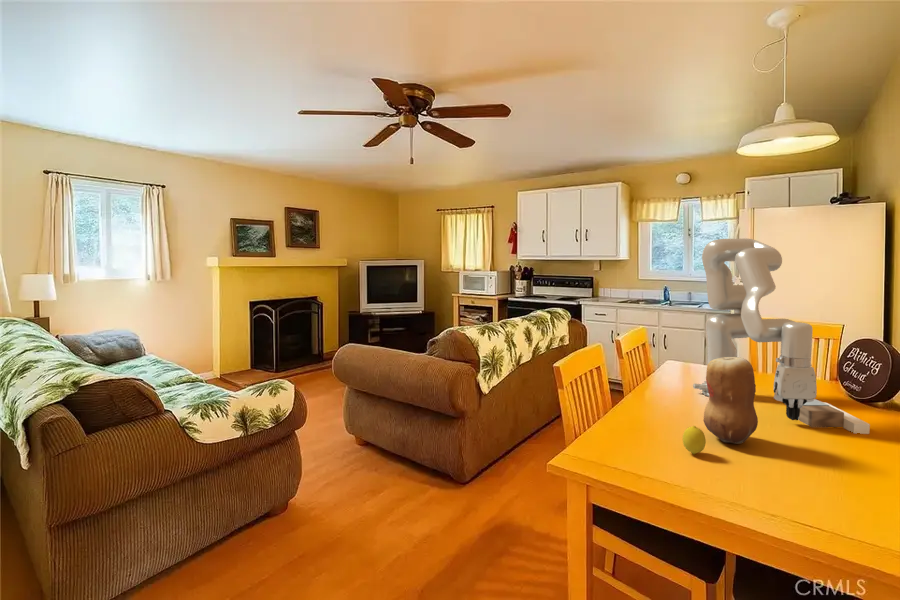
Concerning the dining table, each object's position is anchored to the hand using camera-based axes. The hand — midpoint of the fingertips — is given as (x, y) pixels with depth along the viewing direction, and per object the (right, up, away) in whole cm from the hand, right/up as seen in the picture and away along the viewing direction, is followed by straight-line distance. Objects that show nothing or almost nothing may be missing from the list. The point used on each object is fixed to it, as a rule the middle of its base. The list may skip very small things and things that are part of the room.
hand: (792, 418), depth 139 cm
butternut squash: (-27, -4, -11) cm, 29 cm away
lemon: (-41, -5, -18) cm, 46 cm away
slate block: (+11, -1, +7) cm, 13 cm away
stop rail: (+16, -1, +2) cm, 17 cm away
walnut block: (+9, -2, +1) cm, 10 cm away
